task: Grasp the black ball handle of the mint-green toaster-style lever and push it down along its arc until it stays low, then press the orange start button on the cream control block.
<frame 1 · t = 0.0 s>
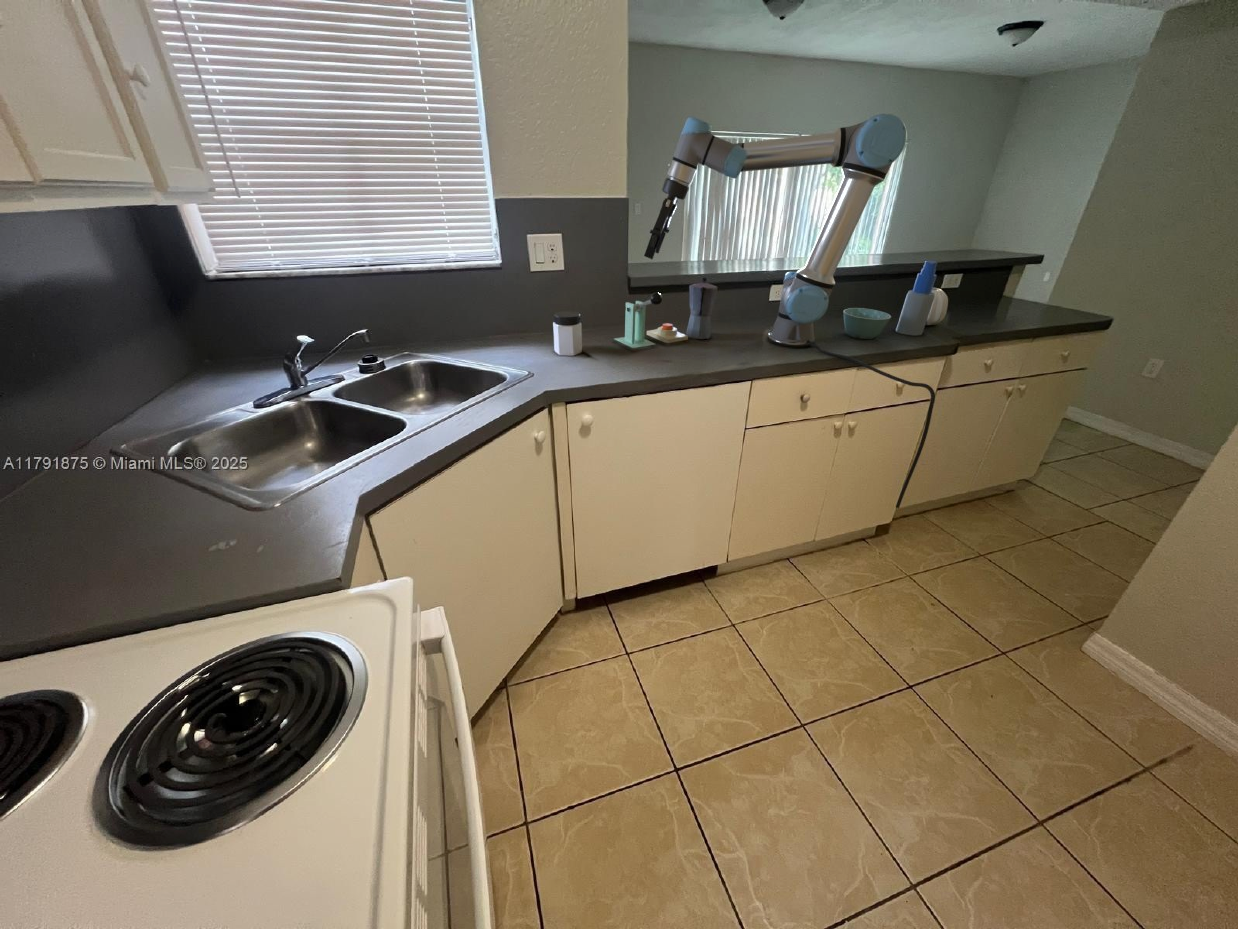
hand: (651, 254, 153), 28 cm above the worktop, tool tilted 20°, fingers open, 13 cm apart
jar: (568, 352, 156), on the worktop
moka pot: (698, 337, 173), on the worktop
start button: (667, 327, 167), point 5 cm above the worktop, slide at 0.1 cm
lever: (645, 303, 152), point 15 cm above the worktop, hinge at 25.0°
bowl: (860, 336, 178), on the worktop
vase: (921, 323, 196), on the worktop
spray bottle: (908, 332, 184), on the worktop
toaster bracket: (634, 344, 164), on the worktop
button block: (666, 340, 169), on the worktop
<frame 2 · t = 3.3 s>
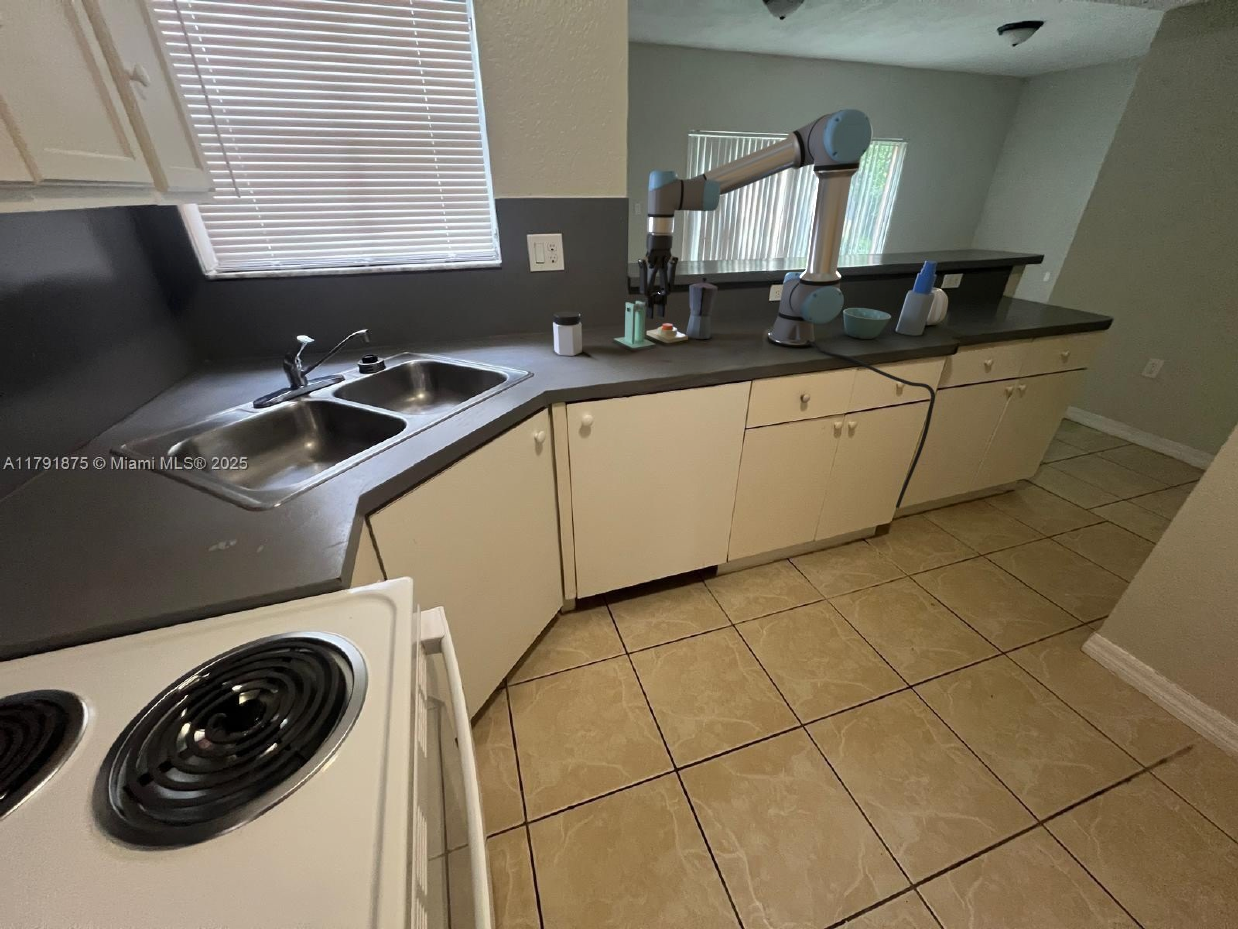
hand: (655, 316, 150), 12 cm above the worktop, tool pointing down, fingers closed on lever, 4 cm apart
lever: (645, 303, 152), point 15 cm above the worktop, hinge at 25.0°, touching gripper
everything else where it was.
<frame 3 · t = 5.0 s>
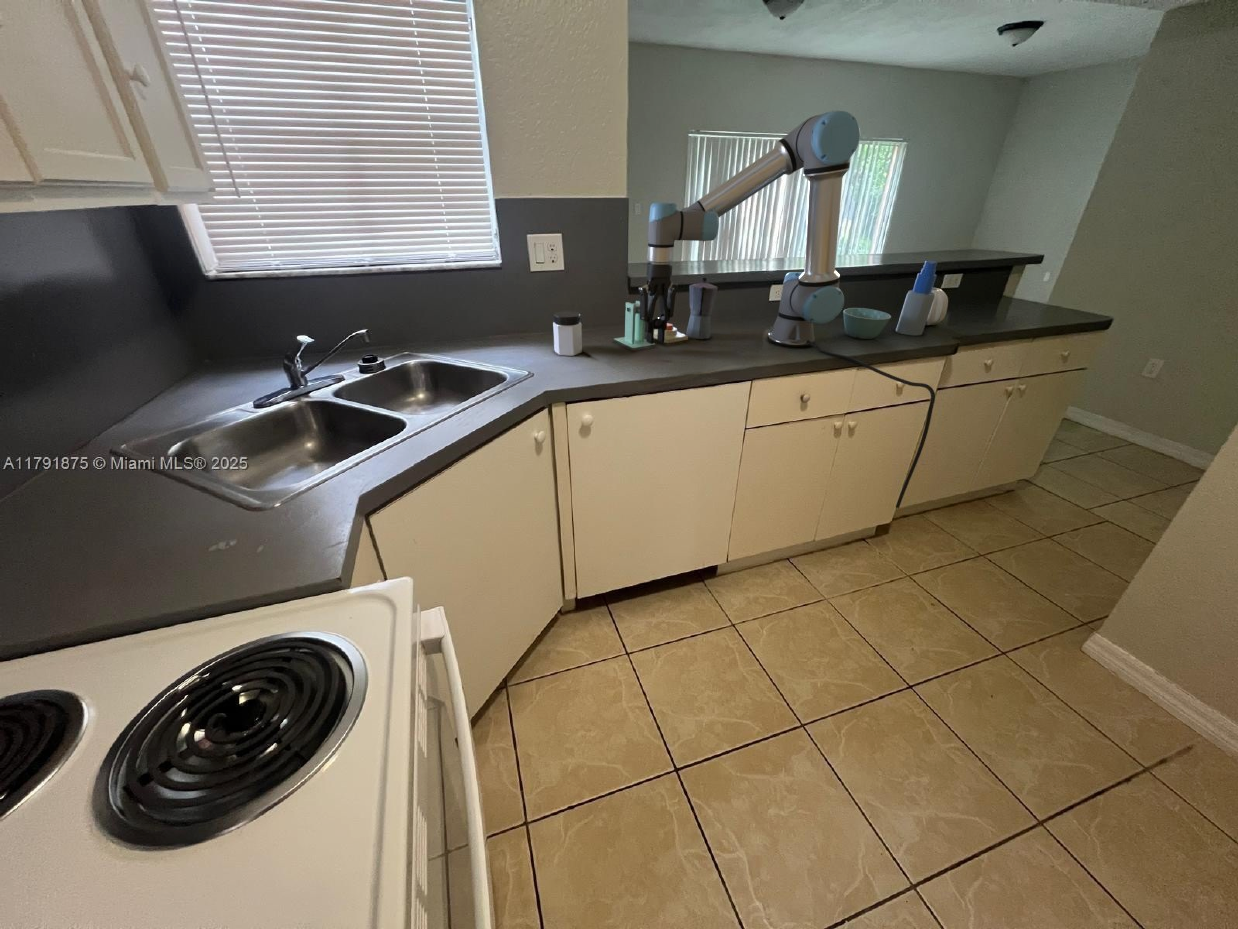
hand: (655, 341, 154), 4 cm above the worktop, tool pointing down, fingers closed on lever, 4 cm apart
lever: (646, 316, 154), point 11 cm above the worktop, hinge at -10.5°, touching gripper
everything else where it was.
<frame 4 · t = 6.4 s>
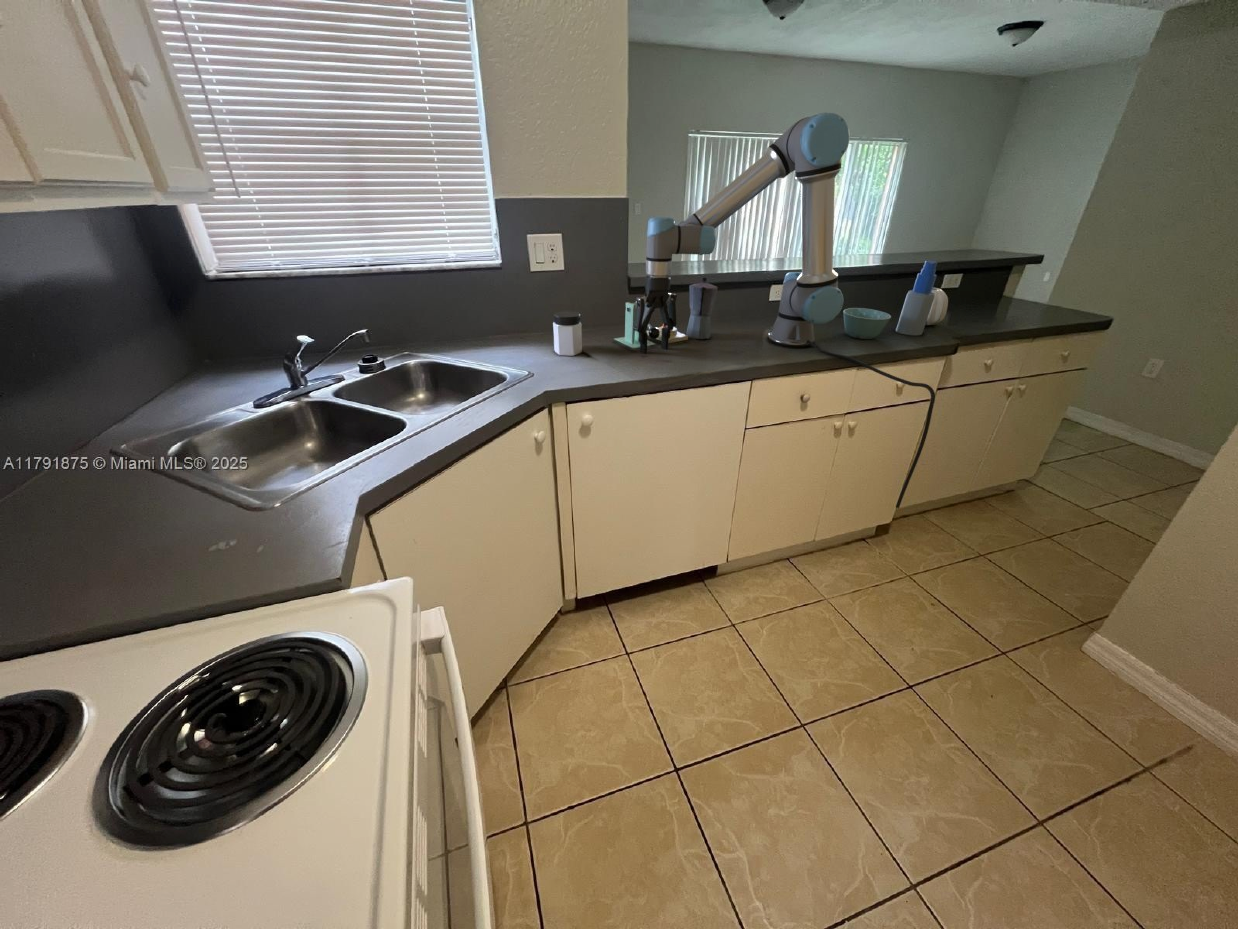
hand: (653, 350, 155), 1 cm above the worktop, tool pointing down, fingers open, 8 cm apart
lever: (644, 320, 155), point 9 cm above the worktop, hinge at -27.0°
everything else where it was.
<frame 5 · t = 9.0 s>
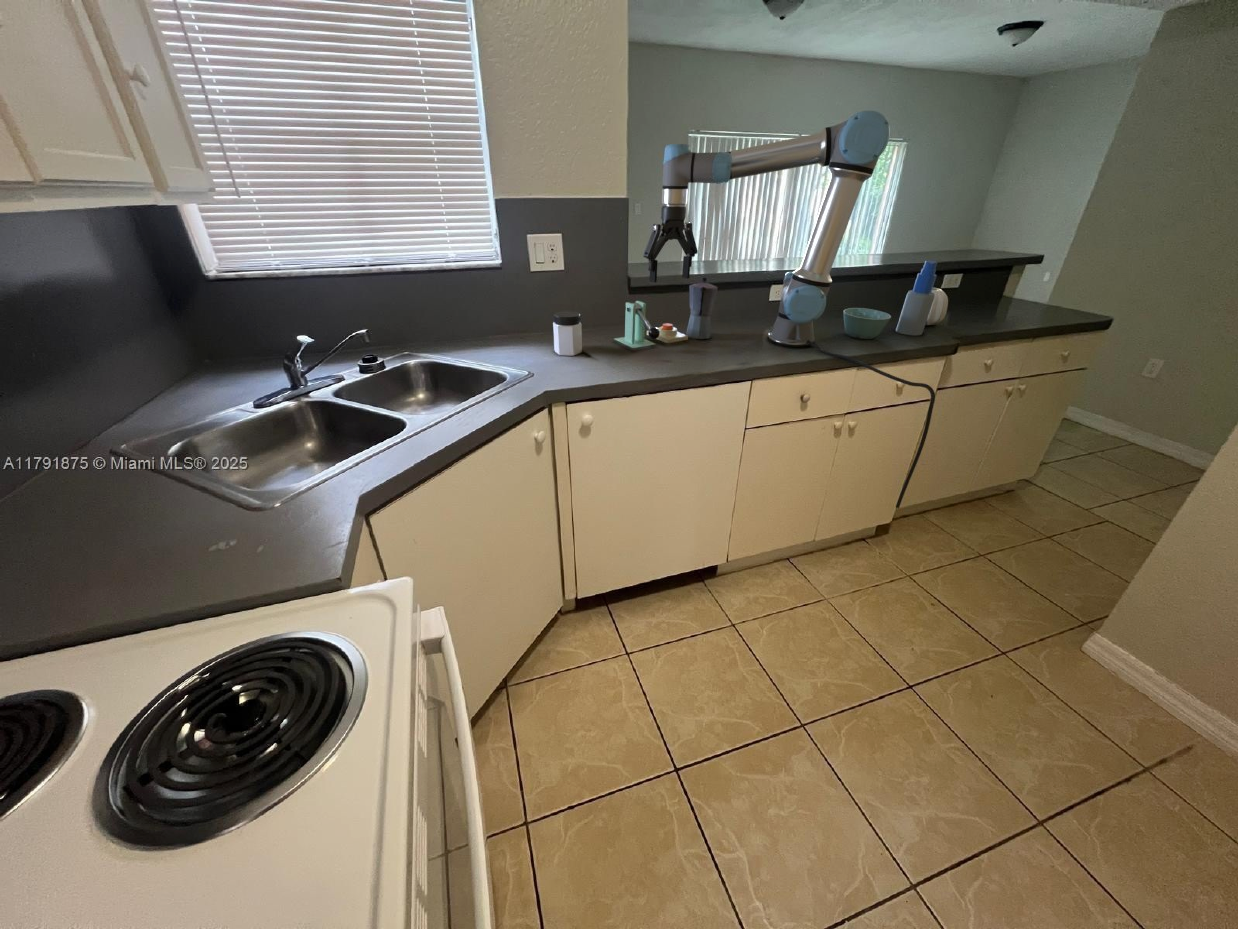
hand: (669, 279, 157), 20 cm above the worktop, tool pointing down, fingers open, 13 cm apart
nothing on the worktop moved.
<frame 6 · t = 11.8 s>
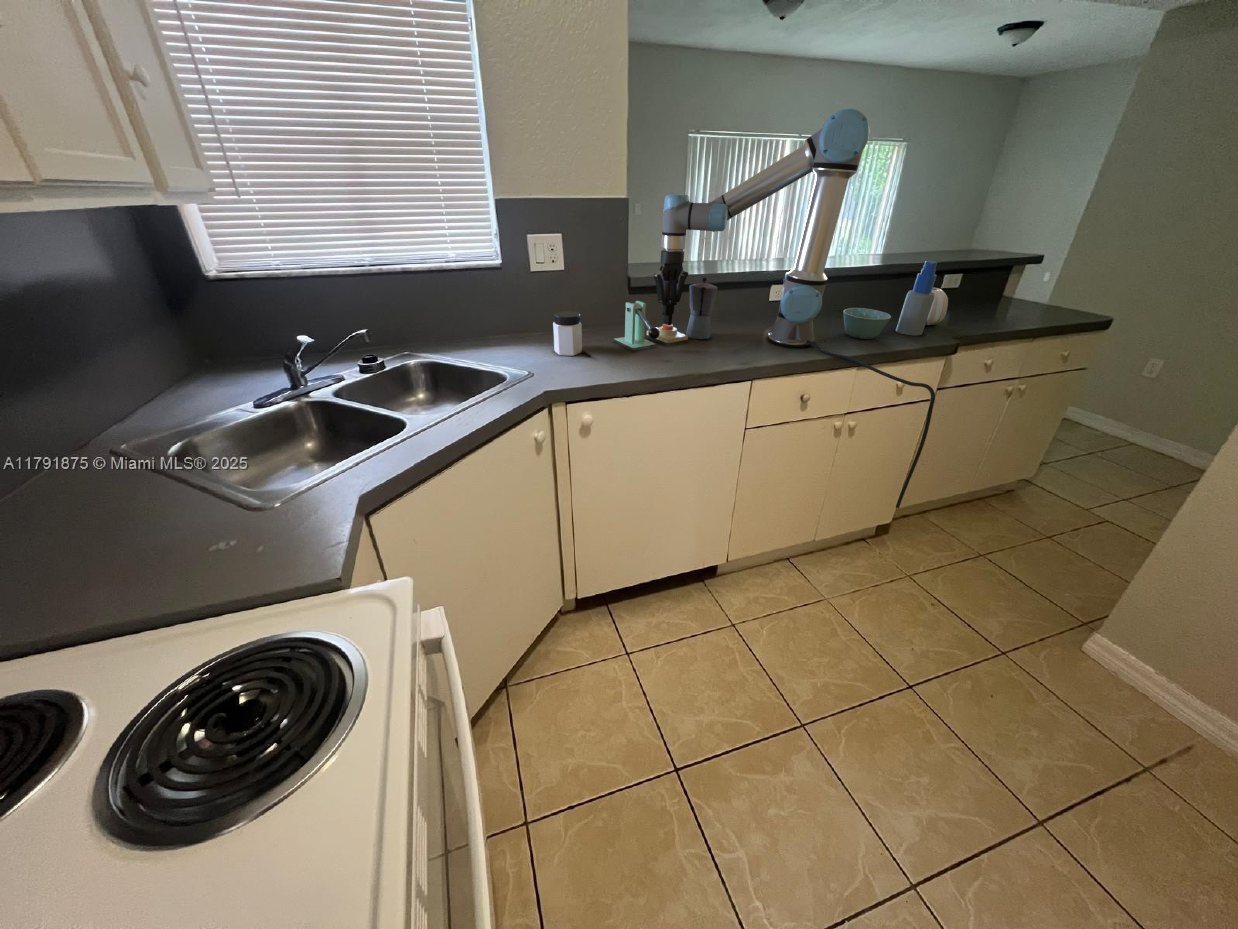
hand: (667, 324, 167), 6 cm above the worktop, tool pointing down, fingers closed
start button: (667, 327, 167), point 4 cm above the worktop, slide at 0.0 cm, touching gripper
everything else where it was.
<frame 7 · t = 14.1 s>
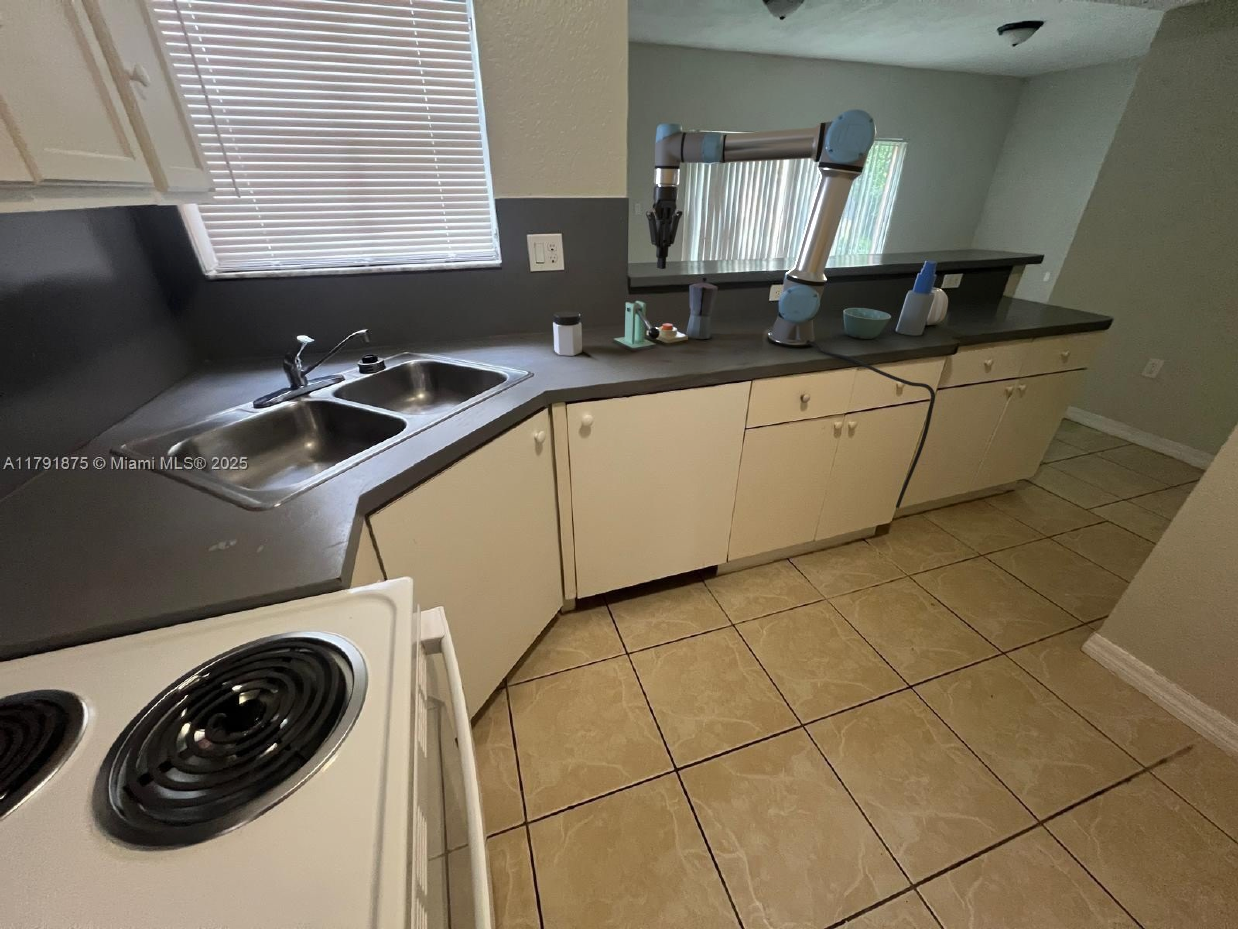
hand: (661, 268, 160), 23 cm above the worktop, tool pointing down, fingers closed
start button: (667, 327, 167), point 5 cm above the worktop, slide at 0.1 cm
everything else where it was.
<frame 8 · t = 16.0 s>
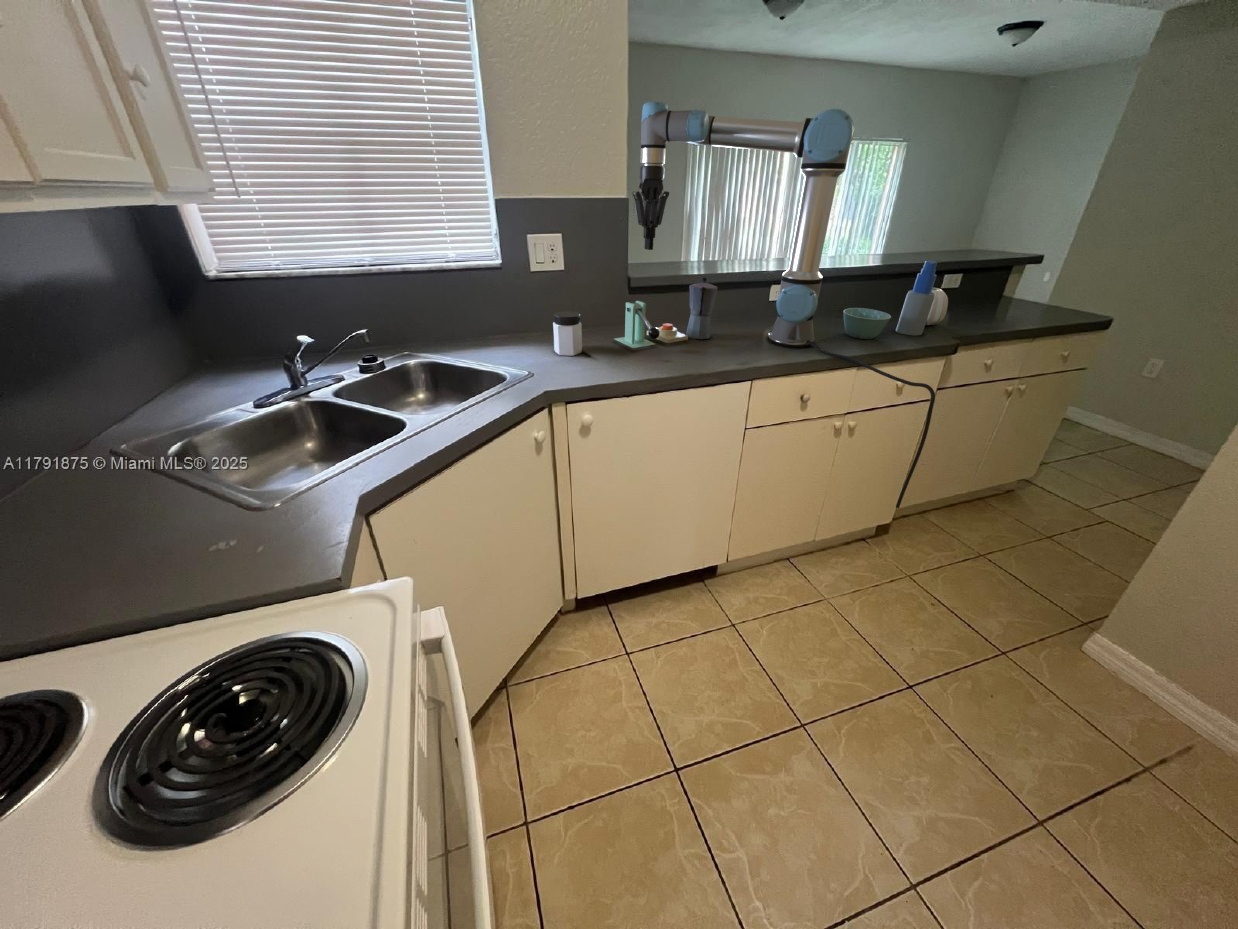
hand: (648, 249, 160), 28 cm above the worktop, tool pointing down, fingers closed
nothing on the worktop moved.
at the end: lever at -27° (first picture: +25°); start button pushed in 0.8 cm at the most during the clip, back to where it started at the end; start button slide at 0.1 cm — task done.
